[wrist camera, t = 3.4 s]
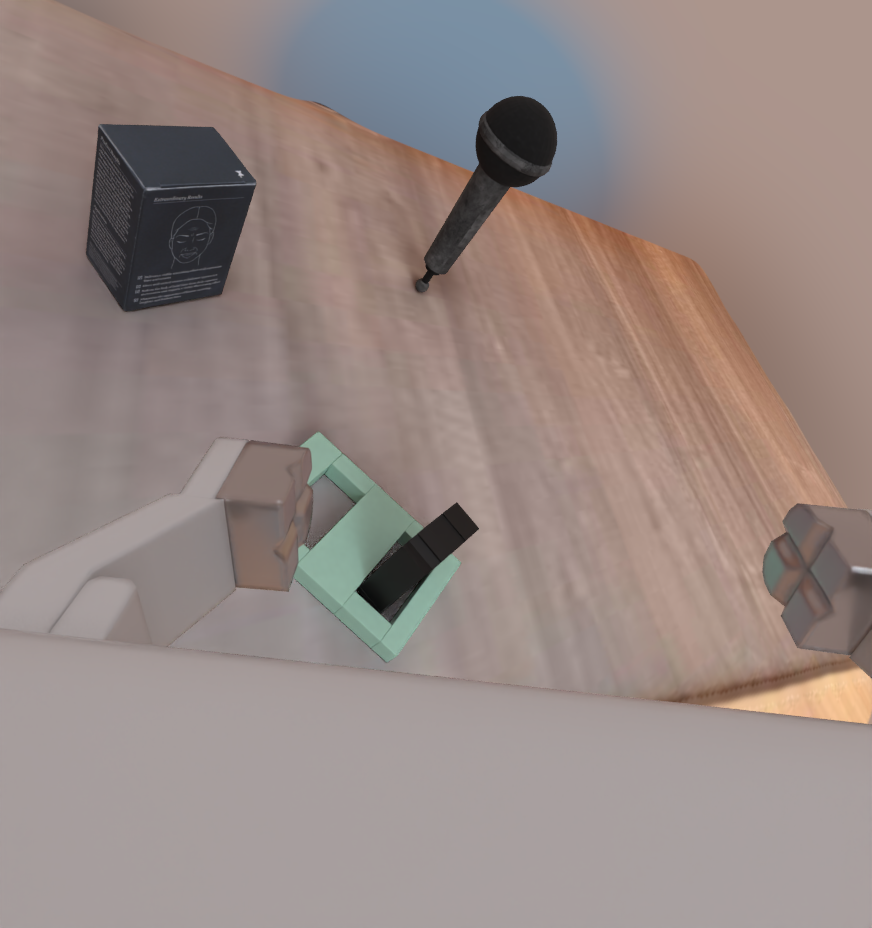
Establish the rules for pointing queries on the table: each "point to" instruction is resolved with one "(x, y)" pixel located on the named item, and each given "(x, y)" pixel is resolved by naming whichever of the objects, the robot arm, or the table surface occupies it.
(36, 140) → the table surface
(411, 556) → the ink cartridge
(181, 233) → the box
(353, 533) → the holder
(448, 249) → the microphone
